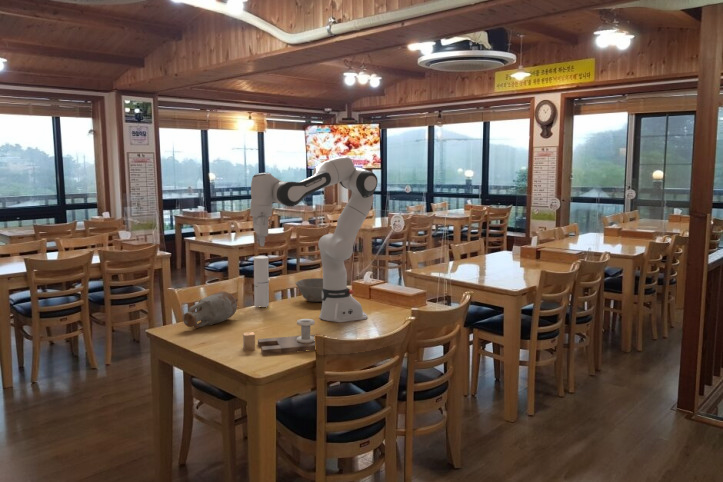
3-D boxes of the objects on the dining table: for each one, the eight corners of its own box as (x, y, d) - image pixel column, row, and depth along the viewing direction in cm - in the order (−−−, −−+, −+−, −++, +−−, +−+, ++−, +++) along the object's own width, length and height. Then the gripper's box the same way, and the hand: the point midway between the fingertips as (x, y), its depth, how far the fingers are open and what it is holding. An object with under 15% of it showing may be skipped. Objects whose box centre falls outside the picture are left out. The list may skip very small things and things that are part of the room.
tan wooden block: (253, 346, 227) (253, 331, 226) (254, 349, 223) (254, 334, 223) (243, 347, 226) (243, 332, 225) (244, 350, 222) (244, 335, 221)
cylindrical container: (265, 308, 287) (265, 258, 284) (252, 307, 289) (251, 258, 285) (270, 305, 294) (270, 256, 291) (257, 304, 295) (257, 255, 292)
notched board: (316, 339, 238) (316, 334, 238) (324, 349, 225) (324, 344, 224) (257, 343, 231) (257, 339, 230) (262, 354, 217) (262, 349, 217)
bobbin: (312, 337, 234) (312, 318, 233) (316, 342, 227) (316, 322, 226) (295, 338, 231) (295, 319, 230) (298, 344, 225) (298, 324, 224)
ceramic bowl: (343, 297, 314) (343, 279, 312) (331, 307, 292) (331, 287, 290) (304, 294, 319) (304, 276, 317) (289, 304, 296) (289, 285, 295)
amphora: (248, 290, 269) (197, 289, 244) (248, 325, 267) (197, 328, 242) (227, 292, 276) (176, 291, 251) (227, 326, 274) (175, 328, 249)
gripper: (272, 213, 231) (271, 248, 233) (265, 210, 251) (264, 241, 253) (256, 213, 230) (255, 248, 231) (250, 209, 249) (250, 241, 251)
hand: (260, 244), depth 242 cm, fingers open, 8 cm apart
